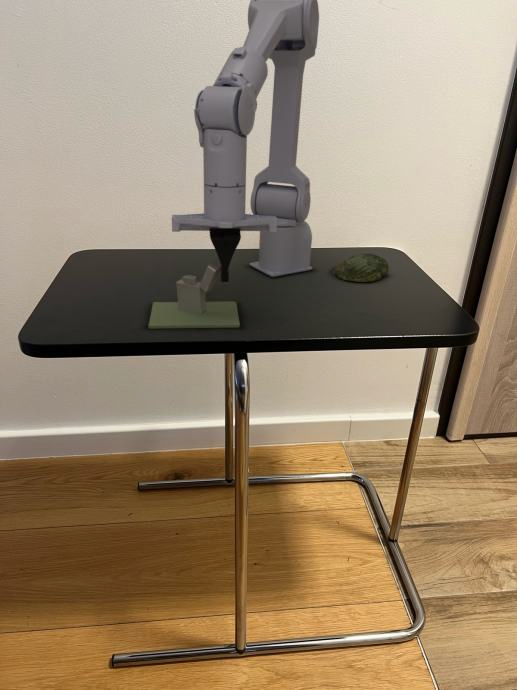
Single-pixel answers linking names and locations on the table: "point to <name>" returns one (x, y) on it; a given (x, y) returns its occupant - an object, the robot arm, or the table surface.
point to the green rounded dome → (362, 268)
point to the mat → (194, 316)
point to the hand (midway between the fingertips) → (224, 280)
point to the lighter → (196, 290)
